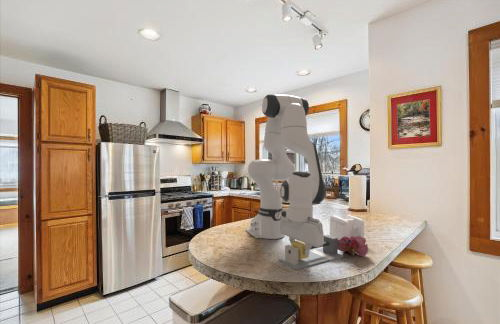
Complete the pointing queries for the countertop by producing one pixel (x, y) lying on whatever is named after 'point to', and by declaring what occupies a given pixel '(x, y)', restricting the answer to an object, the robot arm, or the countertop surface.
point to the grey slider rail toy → (312, 254)
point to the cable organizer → (346, 226)
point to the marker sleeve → (300, 249)
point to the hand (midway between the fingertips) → (299, 251)
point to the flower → (353, 245)
